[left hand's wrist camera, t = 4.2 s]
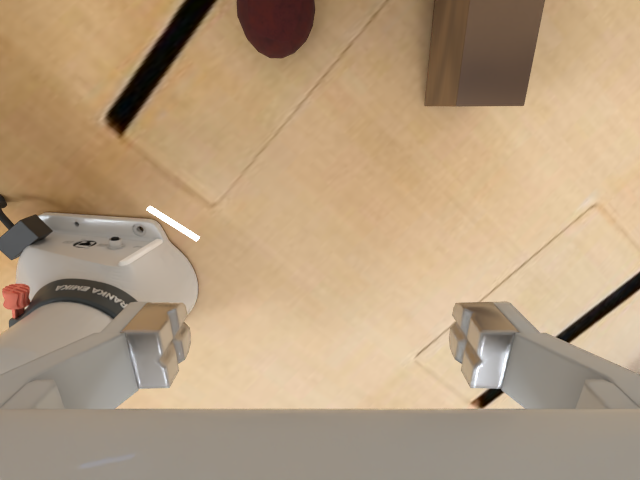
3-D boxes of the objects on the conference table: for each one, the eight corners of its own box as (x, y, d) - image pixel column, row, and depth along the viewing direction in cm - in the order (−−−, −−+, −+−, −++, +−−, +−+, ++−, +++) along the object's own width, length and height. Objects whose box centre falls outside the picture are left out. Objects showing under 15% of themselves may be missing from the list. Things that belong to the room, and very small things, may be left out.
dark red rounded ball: (322, -12, 35) (323, -39, 28) (305, 70, 38) (302, 62, 31) (251, -33, 34) (235, -66, 28) (239, 52, 37) (222, 40, 30)
